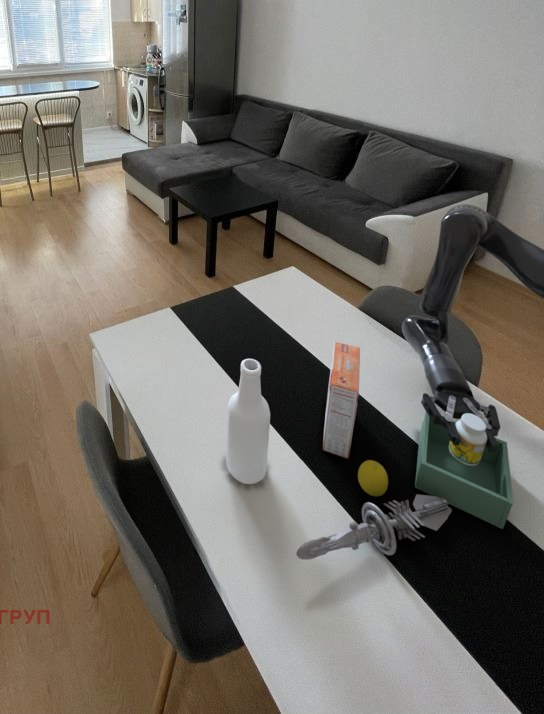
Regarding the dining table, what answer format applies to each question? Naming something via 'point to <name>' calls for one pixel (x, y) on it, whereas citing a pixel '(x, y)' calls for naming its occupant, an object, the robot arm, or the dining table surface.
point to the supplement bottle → (469, 440)
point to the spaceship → (382, 527)
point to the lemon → (373, 478)
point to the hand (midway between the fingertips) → (475, 445)
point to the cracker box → (342, 399)
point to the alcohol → (248, 427)
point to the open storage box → (464, 476)
